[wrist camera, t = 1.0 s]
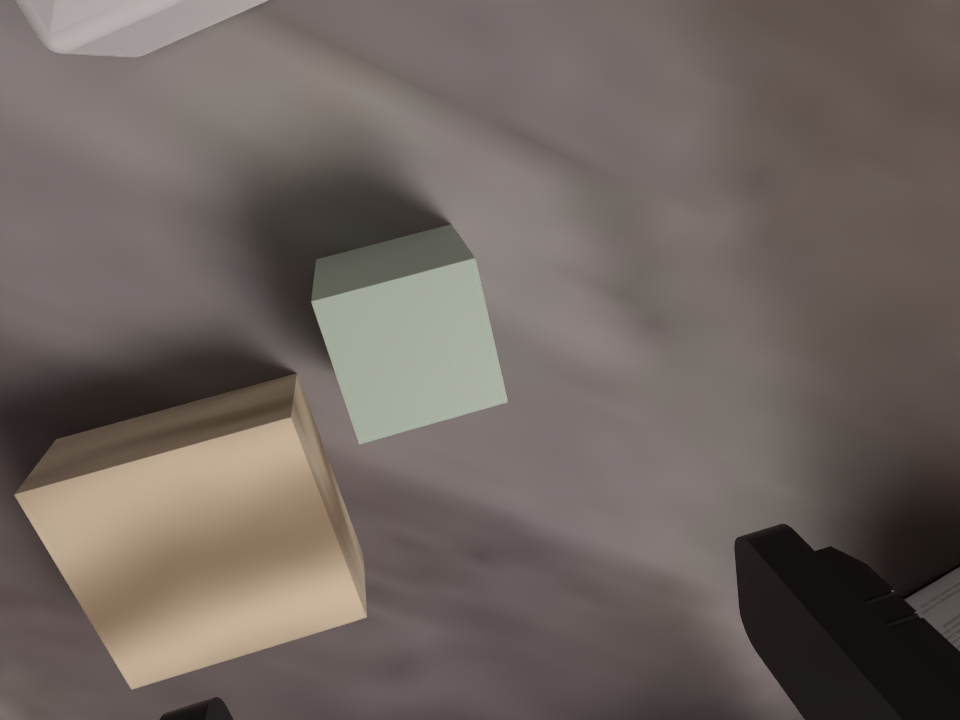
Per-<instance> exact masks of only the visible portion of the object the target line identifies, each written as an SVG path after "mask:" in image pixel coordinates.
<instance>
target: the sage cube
mask: <svg viewBox="0 0 960 720" xmlns="http://www.w3.org/2000/svg"><path fill="white" fill-rule="evenodd" d="M311 303H312V306H313V309H314V312H315V315H316V318H317V321H318V324H319V327H320V329H321V332H322V335H323V338H324V341H325V344H326V347H327V350H328V353H329V356H330V359H331V362H332V365H333V368H334V371H335V374H336V377H337V380H338V383H339V386H340V389H341V392H342V394H343V397H344V400H345V403H346V406H347V409H348V412H349V415H350V418H351V421H352V424H353V427H354V430H355V433H356V436H357V439H358V442H359V444H362V443H366V442H369V441H373V440H376V439H380V438H384V437H387V436H391V435H394V434H398V433H401V432H405V431H408V430H412V429H415V428H419V427H422V426H426V425H429V424H433V423H436V422H440V421H443V420H447V419H450V418H454V417H457V416H461V415H464V414H468V413H471V412H475V411H478V410H482V409H486V408H489V407H493V406H496V405H500V404H503V403H507V402H508V400H507V396H506V392H505V387H504V383H503V378H502V374H501V369H500V365H499V361H498V356H497V352H496V347H495V343H494V339H493V334H492V330H491V325H490V321H489V316H488V312H487V308H486V303H485V299H484V294H483V290H482V285H481V281H480V277H479V272H478V268H477V263H476V259H475V257H474V255H473V254H472V253H471V251H470V250H469V248H468V247H467V246H466V244H465V243H464V241H463V240H462V239H461V237H460V236H459V234H458V233H457V232H456V230H455V229H454V227H453V226H452V225H451V224H450V225H446V226H442V227H438V228H435V229H431V230H427V231H423V232H419V233H415V234H412V235H408V236H404V237H400V238H396V239H392V240H389V241H385V242H381V243H377V244H373V245H369V246H366V247H362V248H358V249H354V250H350V251H346V252H343V253H339V254H335V255H331V256H327V257H323V258H320V259H316V264H315V273H314V281H313V290H312V298H311Z"/></svg>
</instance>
